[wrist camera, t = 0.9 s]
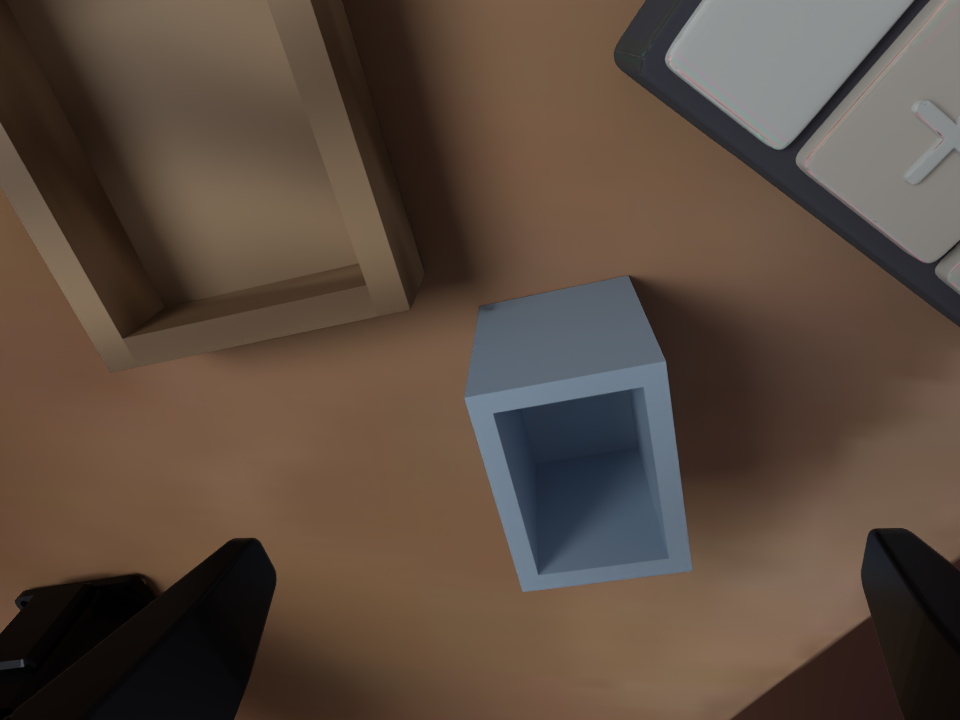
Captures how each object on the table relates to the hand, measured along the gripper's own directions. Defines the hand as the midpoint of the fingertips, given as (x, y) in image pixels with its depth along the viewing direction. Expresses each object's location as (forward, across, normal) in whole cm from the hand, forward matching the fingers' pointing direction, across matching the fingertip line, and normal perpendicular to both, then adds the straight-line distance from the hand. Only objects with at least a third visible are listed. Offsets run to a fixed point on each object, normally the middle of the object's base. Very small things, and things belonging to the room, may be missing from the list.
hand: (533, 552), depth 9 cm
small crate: (+12, 0, +5) cm, 13 cm away
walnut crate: (+12, +10, -5) cm, 16 cm away
